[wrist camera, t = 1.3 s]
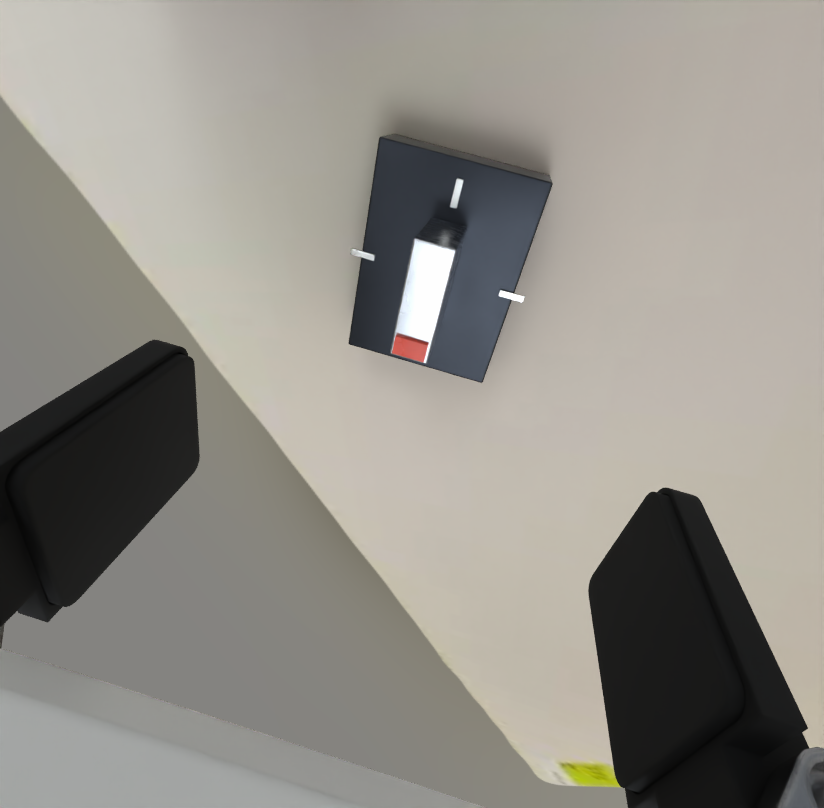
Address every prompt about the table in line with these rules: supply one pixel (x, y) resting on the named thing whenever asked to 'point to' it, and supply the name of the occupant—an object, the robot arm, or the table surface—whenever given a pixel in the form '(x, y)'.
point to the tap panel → (480, 256)
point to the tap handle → (427, 288)
